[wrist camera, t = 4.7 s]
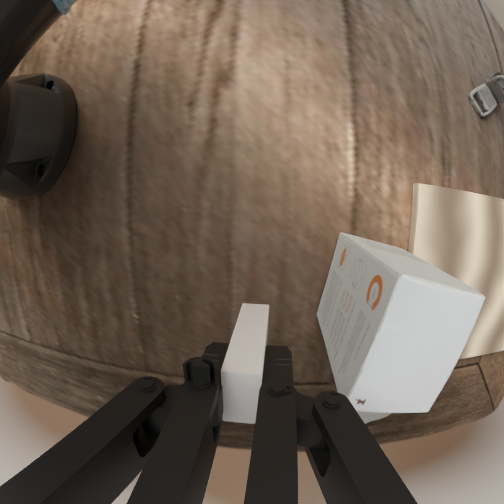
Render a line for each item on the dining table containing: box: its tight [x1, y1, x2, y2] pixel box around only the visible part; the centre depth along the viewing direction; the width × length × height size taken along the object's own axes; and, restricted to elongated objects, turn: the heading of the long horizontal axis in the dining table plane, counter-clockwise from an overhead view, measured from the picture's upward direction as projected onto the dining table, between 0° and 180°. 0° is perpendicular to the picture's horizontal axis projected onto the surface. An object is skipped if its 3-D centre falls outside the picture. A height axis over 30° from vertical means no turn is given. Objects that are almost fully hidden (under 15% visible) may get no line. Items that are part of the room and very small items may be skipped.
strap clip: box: [468, 72, 504, 117], centre depth 17 cm, size 8×3×4 cm, turn 128°
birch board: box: [408, 183, 504, 359], centre depth 23 cm, size 20×18×1 cm
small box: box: [317, 233, 486, 413], centre depth 18 cm, size 8×6×13 cm
